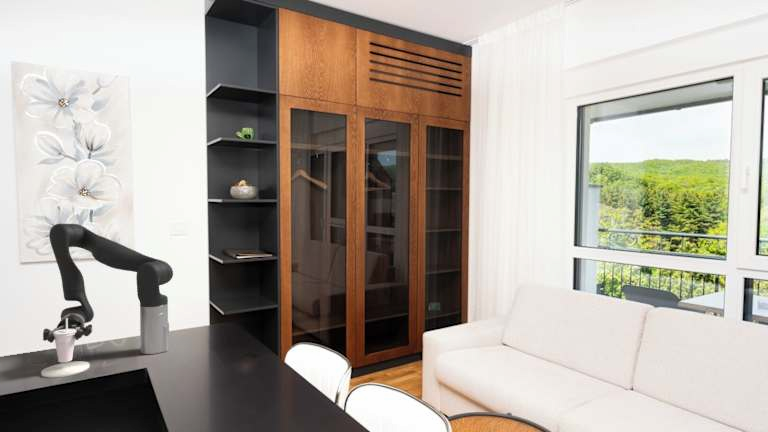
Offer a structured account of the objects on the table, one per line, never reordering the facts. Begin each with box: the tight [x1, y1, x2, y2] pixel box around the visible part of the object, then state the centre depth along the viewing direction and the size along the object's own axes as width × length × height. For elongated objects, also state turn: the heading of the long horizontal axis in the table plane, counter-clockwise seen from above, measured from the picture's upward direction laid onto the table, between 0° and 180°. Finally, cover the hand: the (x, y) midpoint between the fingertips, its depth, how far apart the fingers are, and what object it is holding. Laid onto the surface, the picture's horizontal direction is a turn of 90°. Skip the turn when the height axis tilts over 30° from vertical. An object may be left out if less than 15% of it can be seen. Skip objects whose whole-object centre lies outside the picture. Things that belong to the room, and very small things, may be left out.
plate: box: [40, 360, 91, 379], centre depth 149 cm, size 13×13×1 cm
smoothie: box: [53, 318, 77, 363], centre depth 149 cm, size 6×6×14 cm
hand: (64, 338), depth 147 cm, fingers closed on smoothie, 6 cm apart
